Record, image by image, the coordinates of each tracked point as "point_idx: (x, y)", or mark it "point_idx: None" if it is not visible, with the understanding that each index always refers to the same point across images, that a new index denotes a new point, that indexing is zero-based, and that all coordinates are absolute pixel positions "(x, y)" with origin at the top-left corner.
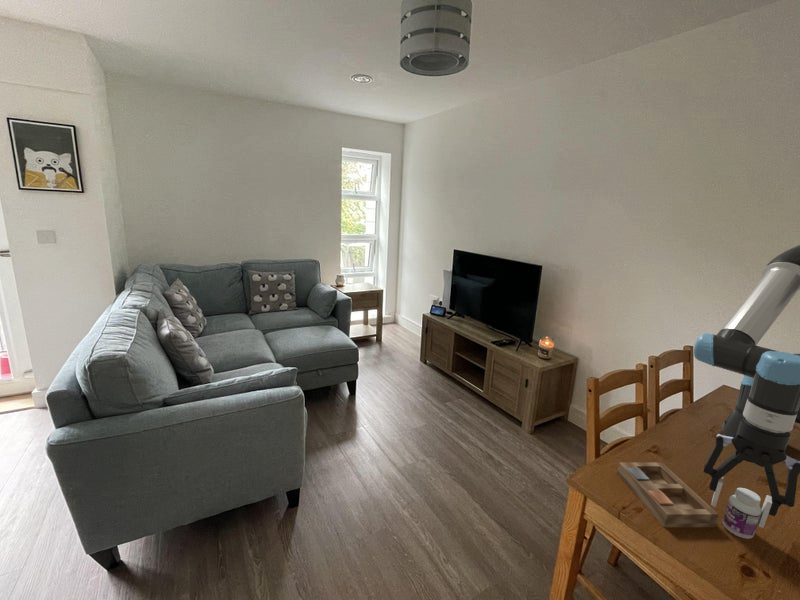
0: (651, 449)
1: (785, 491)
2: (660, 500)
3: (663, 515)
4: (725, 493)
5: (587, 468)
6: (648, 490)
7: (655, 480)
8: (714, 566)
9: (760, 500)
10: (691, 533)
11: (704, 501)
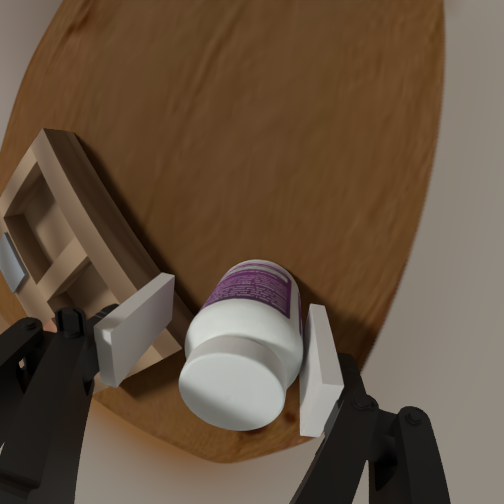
0: (77, 19)
1: (402, 447)
2: None
3: None
4: (254, 89)
5: None
6: None
7: (55, 205)
8: (196, 435)
9: (280, 411)
10: (151, 372)
11: None
